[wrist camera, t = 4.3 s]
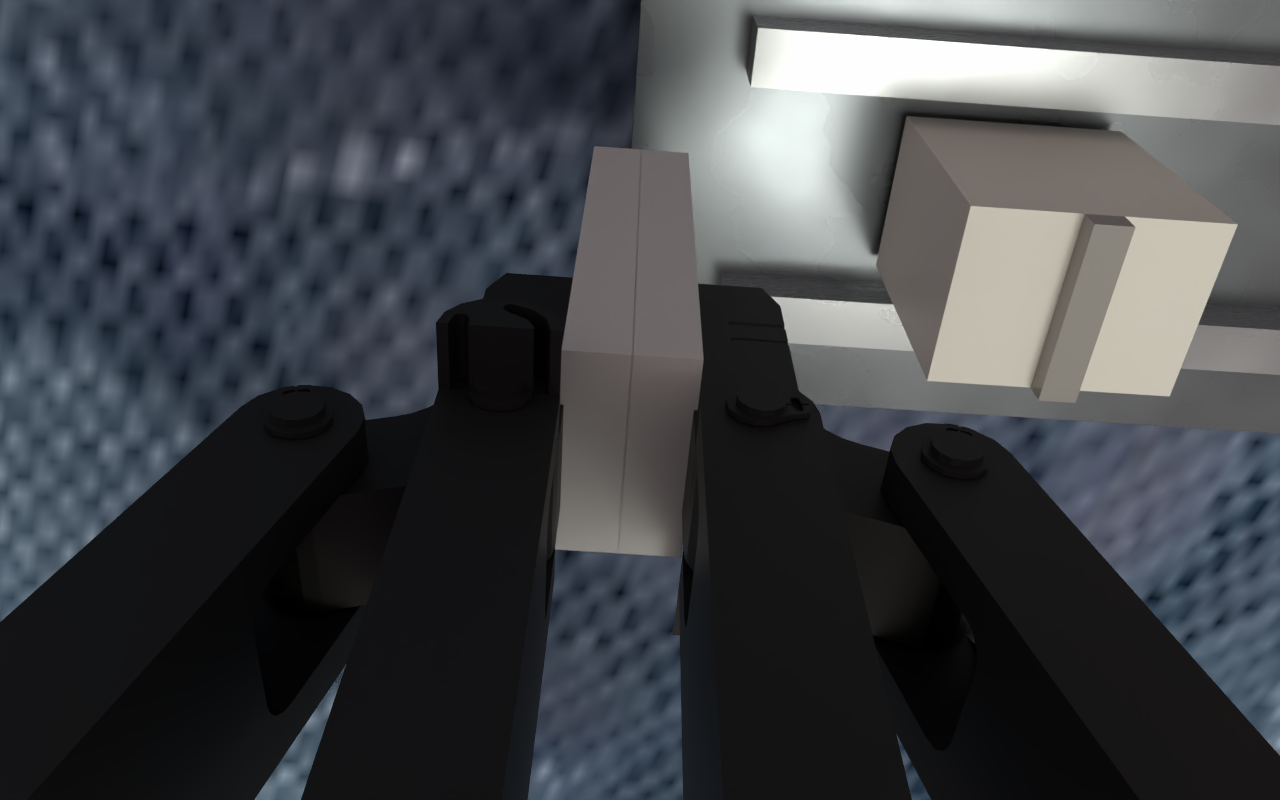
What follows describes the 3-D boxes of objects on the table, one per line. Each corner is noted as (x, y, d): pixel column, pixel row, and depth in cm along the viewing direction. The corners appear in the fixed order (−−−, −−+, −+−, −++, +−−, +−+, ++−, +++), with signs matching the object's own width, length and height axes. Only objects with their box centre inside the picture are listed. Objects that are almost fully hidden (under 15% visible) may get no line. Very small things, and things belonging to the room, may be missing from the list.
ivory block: (876, 265, 21) (932, 394, 16) (907, 116, 19) (978, 216, 15) (1074, 278, 21) (1180, 409, 17) (1120, 131, 19) (1251, 234, 15)
